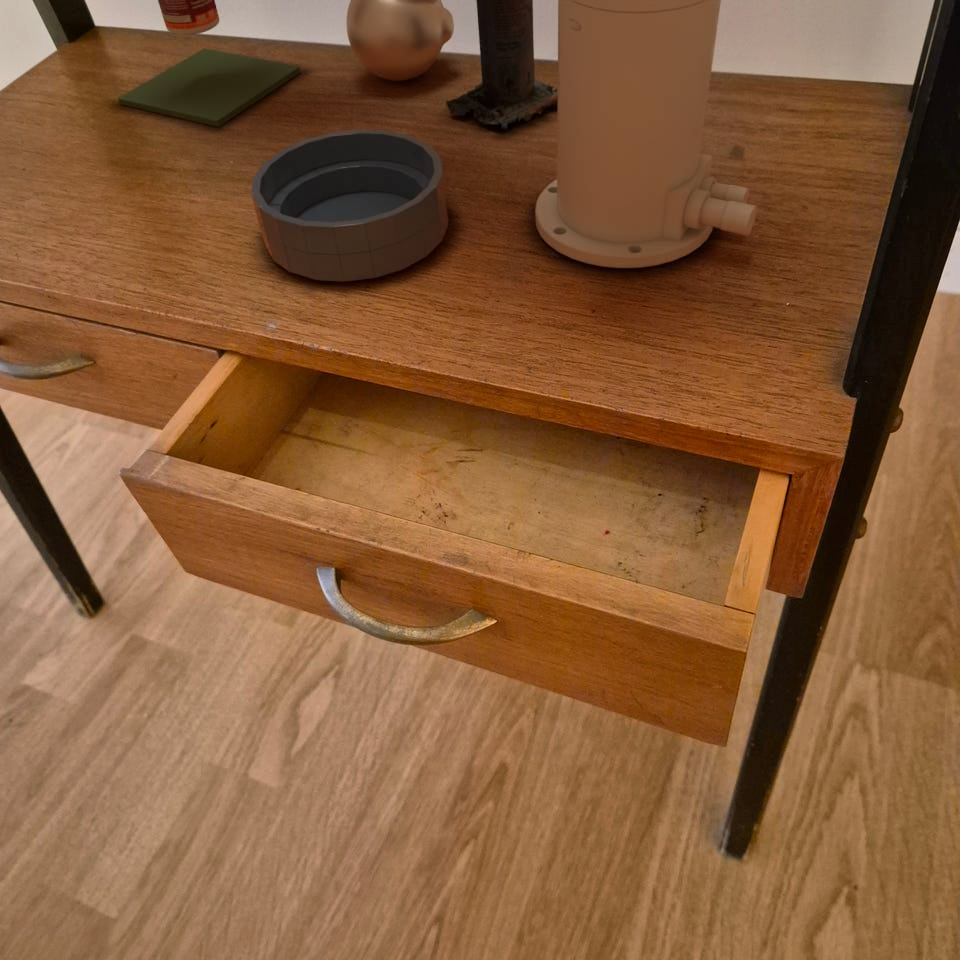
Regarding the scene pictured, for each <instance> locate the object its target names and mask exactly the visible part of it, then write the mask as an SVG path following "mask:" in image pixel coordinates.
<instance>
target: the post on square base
mask: <svg viewBox="0 0 960 960" xmlns="http://www.w3.org/2000/svg"><path fill="white" fill-rule="evenodd" d="M475 1H476V11H477V28H478V29H477V30H478V42H479V54H480V55H479V57H480V66H481V67H480V69H481V83H479V84H477V85H474V86H475V87H474V88H472V89H471V90H467V91H466V93H463V94H460V95H458V97H456V98H454V99H450V100H449V99H448V100H446V101H445V103H446V105H445V108H448V110H449V111H450V112H449V114H450V115H451V116H452V115H455V117H458V116H461V117H462V118H464V116H466V114H467V113H469V114H470V113H471V110H473V117H474V119H477V120H478V122H482V124H483V125H485V126H486V125H500V124H501V130H504V131H506V132H508V127H509V126H508V125H509V124H513V123H515V122H516V121H517V122H518V123H519V122H520V121H521V120H525V122H528V121H529V122H530V121H531V119H532V117H533V115H535V114H537V113H538V114H539V115H541V114H542V112H543V111H544V110H546V109H547V108H549V107H550V106H551V105H558V88H556V87H554V86H553V85H551V83H546V84H545V83H544V82H542V81H540V80H538V79H536V77H535V47H534V45H535V44H534V43H535V42H534V0H475Z"/></svg>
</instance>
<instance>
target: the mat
mask: <svg viewBox="0 0 960 960" xmlns="http://www.w3.org/2000/svg"><path fill="white" fill-rule="evenodd" d="M299 74H301V67H300V66H298V65H294V64H293V65H292V64H287V63H282V62H277V61H272V60H267V59H262V58H257V57H251V56H245V55H241V54H236V53H229V52H225V51H218V50H213V49H209V48H202V49H201V50H199V51H197V52H195V53H194V54H192V55H191V56H189V57H187V58H185V59H183V60H182V61H180V62H178V63H177V64H175V65H173V66H171V67H170V68H168V69H166V70H165V71H163V72H161V73H159V74H158V75H156V76H154V77H152V78H151V79H149V80H147V81H146V82H144V83H142V84H140V85H138V86H137V87H135V88H133V89H132V90H130V91H128V92H127V93H125V94H122V95H120V97H117V100H118V103H119V105H121V106H125V107H130V108H134V109H138V110H143V111H148V112H151V113H155V114H161V115H164V116H168V117H173V118H178V119H182V120H186V121H191V122H194V123H199V124H204V125H207V126H212V127H217V128H219V127H221V126H223V125H224V124H226V123H227V122H229V121H230V120H231V119H233V118H234V117H236V116H238V115H239V114H241V113H242V112H244V111H245V110H247V109H248V108H250V107H252V106H253V105H255V104H256V103H257V102H259V101H260V100H262V99H263V98H266V96H268V95H269V94H271V93H272V92H275V90H277V89H278V88H280V87H281V86H283V85H285V84H286V83H288V82H289V81H290V80H292V79H293V78H295V77H296V76H298V75H299Z"/></svg>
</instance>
